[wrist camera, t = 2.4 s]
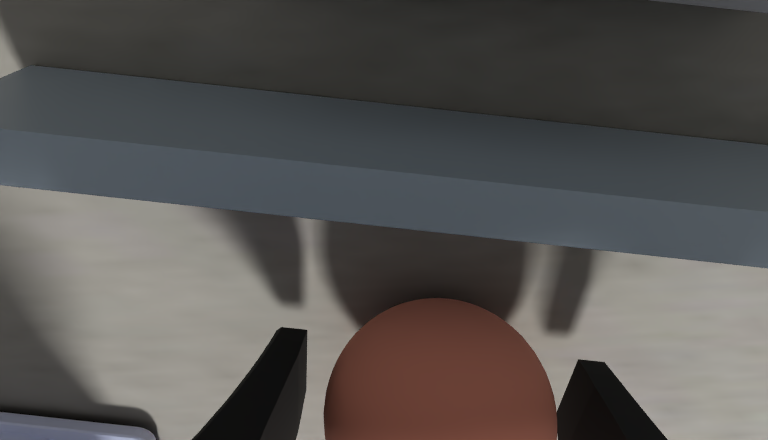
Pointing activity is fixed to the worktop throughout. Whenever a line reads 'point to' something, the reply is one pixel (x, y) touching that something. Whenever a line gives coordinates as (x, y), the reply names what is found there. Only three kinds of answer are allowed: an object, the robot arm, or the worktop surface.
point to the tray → (727, 4)
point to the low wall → (385, 165)
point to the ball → (439, 378)
